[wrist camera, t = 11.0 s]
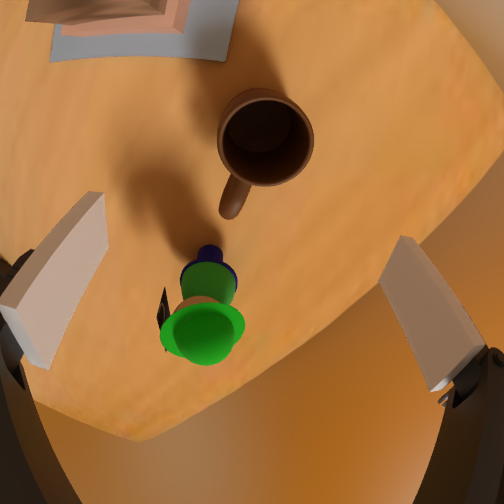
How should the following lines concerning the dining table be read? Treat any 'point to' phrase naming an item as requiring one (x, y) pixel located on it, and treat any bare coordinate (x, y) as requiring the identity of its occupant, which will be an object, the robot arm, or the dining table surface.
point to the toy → (203, 311)
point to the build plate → (153, 33)
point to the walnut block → (90, 10)
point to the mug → (261, 144)
